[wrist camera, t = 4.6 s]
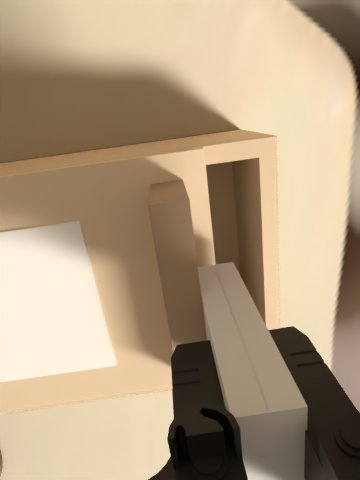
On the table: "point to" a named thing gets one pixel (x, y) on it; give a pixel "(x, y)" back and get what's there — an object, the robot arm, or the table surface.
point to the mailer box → (220, 201)
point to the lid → (100, 277)
